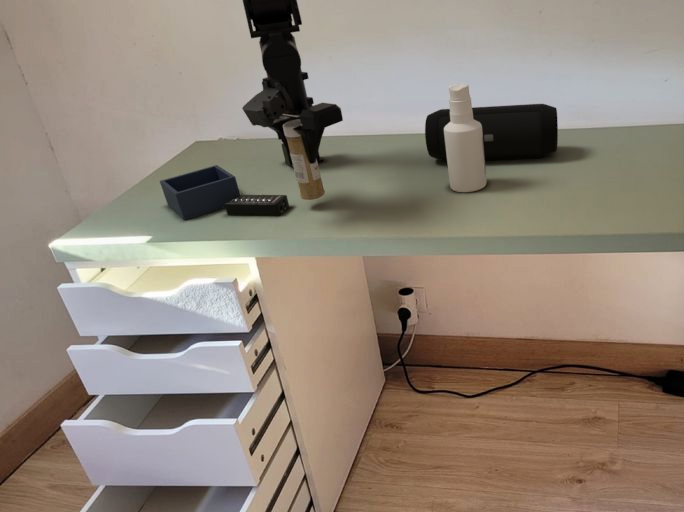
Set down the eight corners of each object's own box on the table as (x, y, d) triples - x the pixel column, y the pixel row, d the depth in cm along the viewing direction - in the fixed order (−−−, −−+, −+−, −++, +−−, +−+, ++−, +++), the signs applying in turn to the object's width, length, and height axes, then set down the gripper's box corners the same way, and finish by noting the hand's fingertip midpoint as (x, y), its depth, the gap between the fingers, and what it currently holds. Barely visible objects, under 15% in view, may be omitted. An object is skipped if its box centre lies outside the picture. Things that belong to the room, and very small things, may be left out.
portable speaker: (428, 168, 142) (421, 118, 137) (437, 152, 150) (431, 104, 145) (555, 163, 137) (554, 110, 132) (558, 146, 146) (557, 96, 140)
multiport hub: (238, 205, 135) (235, 194, 133) (290, 206, 132) (287, 194, 130) (226, 215, 131) (223, 203, 130) (279, 216, 128) (276, 203, 127)
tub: (224, 189, 144) (216, 164, 141) (242, 202, 136) (235, 176, 133) (168, 205, 139) (159, 180, 136) (184, 220, 131) (175, 194, 128)
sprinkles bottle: (329, 195, 129) (312, 121, 121) (306, 203, 127) (288, 128, 119) (319, 188, 132) (302, 116, 124) (296, 196, 130) (278, 123, 123)
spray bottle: (491, 180, 133) (483, 80, 123) (480, 193, 128) (471, 90, 118) (457, 179, 135) (446, 81, 126) (445, 192, 130) (433, 91, 120)
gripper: (209, 77, 117) (235, 168, 126) (281, 85, 107) (304, 184, 115) (263, 62, 124) (284, 149, 133) (335, 68, 114) (353, 162, 122)
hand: (304, 161), depth 126 cm, fingers closed on sprinkles bottle, 4 cm apart
